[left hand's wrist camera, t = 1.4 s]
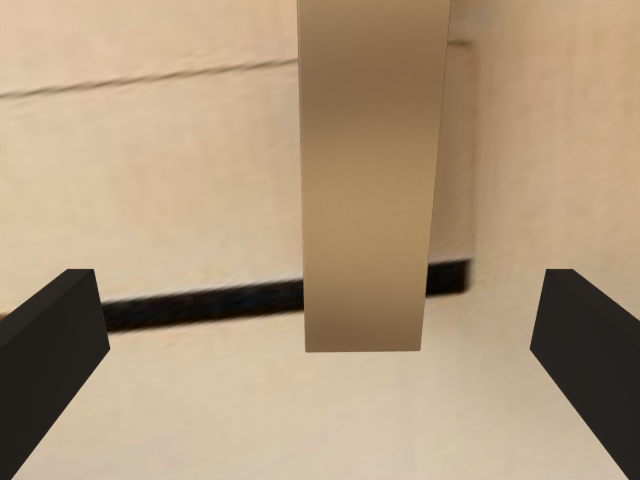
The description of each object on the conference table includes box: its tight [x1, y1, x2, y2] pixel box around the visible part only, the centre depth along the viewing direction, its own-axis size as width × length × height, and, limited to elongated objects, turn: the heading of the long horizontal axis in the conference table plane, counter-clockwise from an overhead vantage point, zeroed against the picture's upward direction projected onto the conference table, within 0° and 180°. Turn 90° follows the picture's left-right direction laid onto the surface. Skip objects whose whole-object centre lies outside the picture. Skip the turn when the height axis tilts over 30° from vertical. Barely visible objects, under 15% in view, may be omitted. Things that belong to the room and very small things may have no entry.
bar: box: [297, 0, 451, 352], centre depth 20 cm, size 23×5×9 cm, turn 0°
